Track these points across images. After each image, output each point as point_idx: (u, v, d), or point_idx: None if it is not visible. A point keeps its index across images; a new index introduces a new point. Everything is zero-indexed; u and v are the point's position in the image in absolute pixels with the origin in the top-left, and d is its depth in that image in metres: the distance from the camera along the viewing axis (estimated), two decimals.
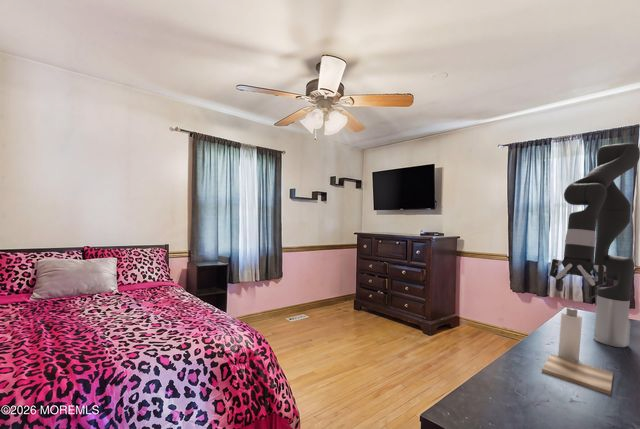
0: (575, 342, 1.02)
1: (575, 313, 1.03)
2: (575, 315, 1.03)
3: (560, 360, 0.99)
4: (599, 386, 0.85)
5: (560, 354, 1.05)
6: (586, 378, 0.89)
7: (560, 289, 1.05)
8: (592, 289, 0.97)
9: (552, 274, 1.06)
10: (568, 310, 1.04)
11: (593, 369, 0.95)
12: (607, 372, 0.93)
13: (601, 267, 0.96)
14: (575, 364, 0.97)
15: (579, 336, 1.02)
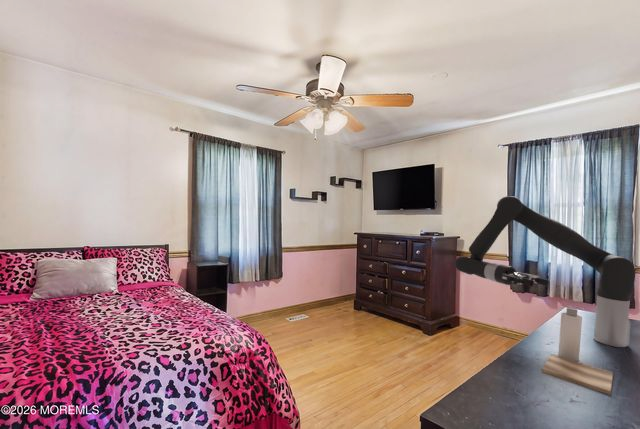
0: (575, 342, 1.02)
1: (575, 313, 1.03)
2: (575, 315, 1.03)
3: (560, 360, 0.99)
4: (599, 386, 0.85)
5: (560, 354, 1.05)
6: (586, 378, 0.89)
7: (545, 283, 1.16)
8: (525, 284, 1.15)
9: None
10: (568, 310, 1.04)
11: (593, 369, 0.95)
12: (607, 372, 0.93)
13: (503, 280, 1.20)
14: (575, 364, 0.97)
15: (579, 336, 1.02)
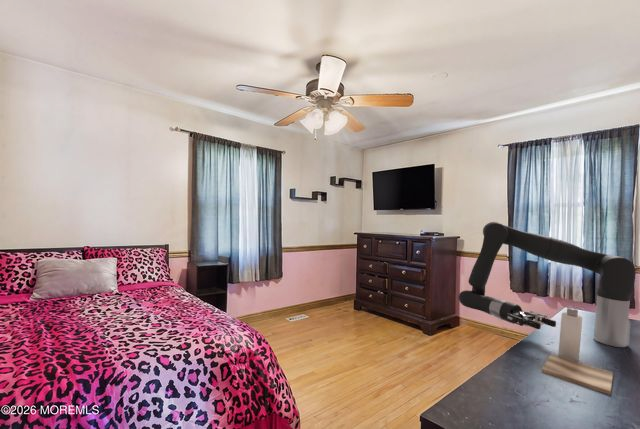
0: (576, 342, 1.02)
1: (575, 313, 1.03)
2: (575, 315, 1.03)
3: (560, 360, 0.99)
4: (599, 386, 0.85)
5: (560, 354, 1.05)
6: (586, 378, 0.89)
7: (552, 324, 1.13)
8: (531, 326, 1.12)
9: None
10: (568, 310, 1.04)
11: (593, 369, 0.95)
12: (607, 372, 0.93)
13: (509, 320, 1.18)
14: (575, 364, 0.97)
15: (580, 337, 1.02)
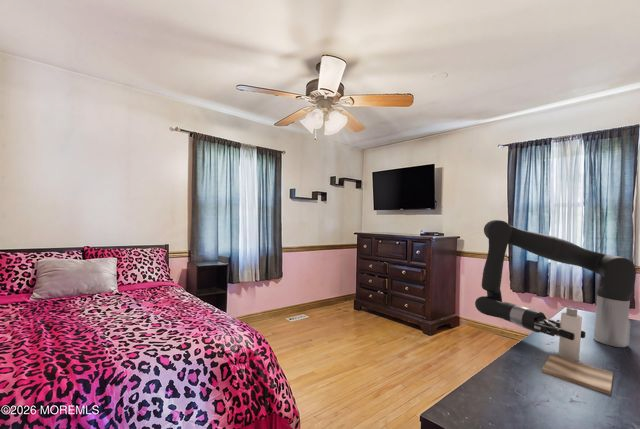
0: (575, 342, 1.02)
1: (575, 313, 1.03)
2: (575, 315, 1.03)
3: (560, 360, 0.99)
4: (599, 386, 0.85)
5: (560, 354, 1.05)
6: (586, 378, 0.89)
7: (581, 335, 1.04)
8: (563, 336, 1.03)
9: None
10: (568, 310, 1.04)
11: (593, 369, 0.95)
12: (607, 372, 0.93)
13: (536, 330, 1.09)
14: (575, 364, 0.97)
15: (579, 336, 1.02)
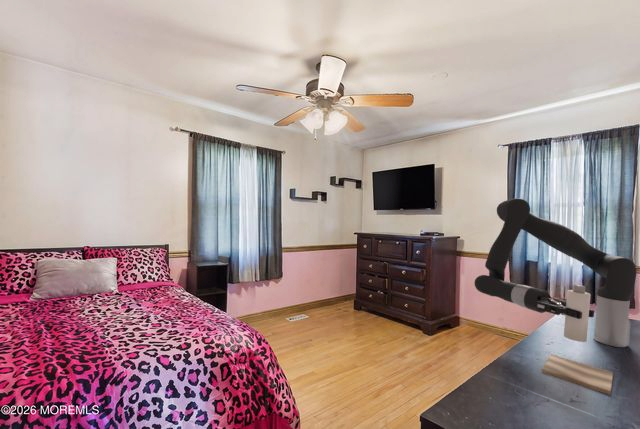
0: (583, 321, 0.93)
1: (583, 289, 0.94)
2: (583, 292, 0.94)
3: (560, 360, 0.99)
4: (599, 386, 0.85)
5: (566, 335, 0.95)
6: (586, 378, 0.89)
7: (590, 314, 0.94)
8: (570, 315, 0.94)
9: None
10: (575, 286, 0.95)
11: (593, 369, 0.95)
12: (607, 372, 0.93)
13: (539, 309, 0.99)
14: (575, 364, 0.97)
15: (587, 315, 0.93)
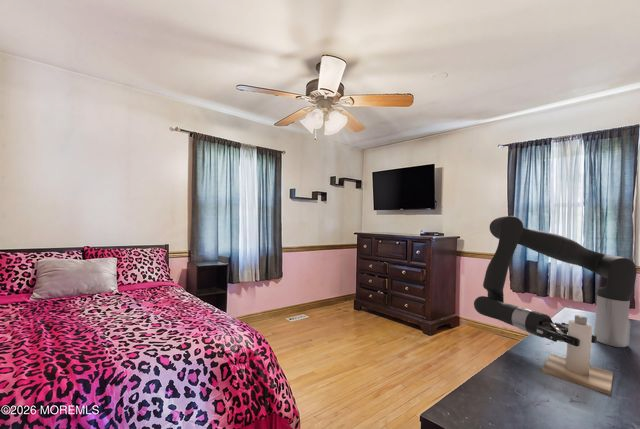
0: (585, 354, 0.91)
1: (584, 321, 0.92)
2: (584, 323, 0.92)
3: (560, 360, 0.99)
4: (599, 386, 0.85)
5: (568, 367, 0.94)
6: (586, 378, 0.89)
7: (592, 340, 0.94)
8: (567, 342, 0.92)
9: None
10: (576, 318, 0.93)
11: (593, 369, 0.95)
12: (607, 372, 0.93)
13: (538, 334, 0.98)
14: None
15: (590, 347, 0.91)
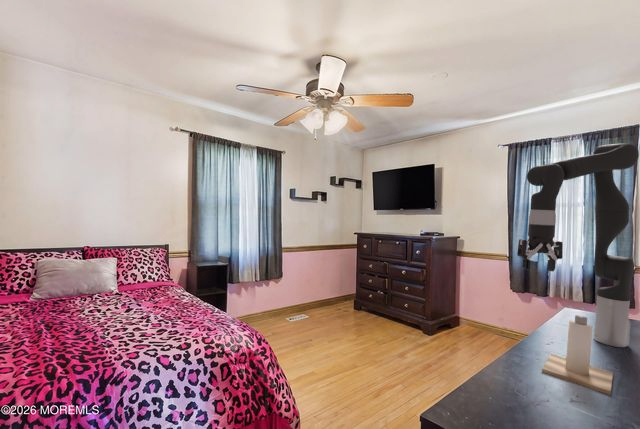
0: (585, 354, 0.91)
1: (585, 321, 0.92)
2: (585, 323, 0.92)
3: (560, 360, 0.99)
4: (599, 386, 0.85)
5: (568, 367, 0.94)
6: (586, 378, 0.89)
7: (548, 268, 1.09)
8: None
9: None
10: (577, 318, 0.93)
11: (593, 369, 0.95)
12: (607, 372, 0.93)
13: None
14: None
15: (590, 348, 0.91)
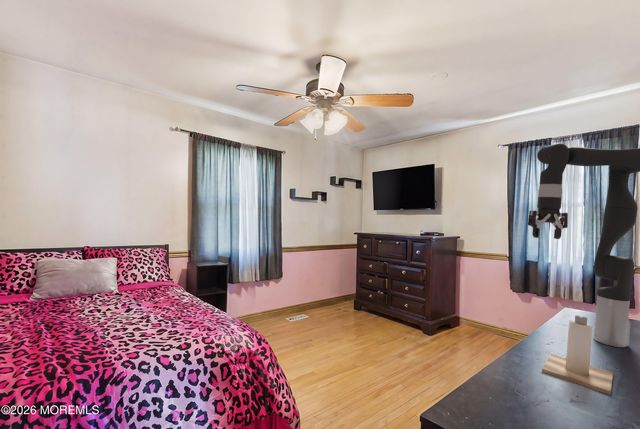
0: (585, 354, 0.91)
1: (585, 321, 0.92)
2: (585, 323, 0.92)
3: (560, 360, 0.99)
4: (599, 386, 0.85)
5: (568, 367, 0.94)
6: (586, 378, 0.89)
7: (555, 237, 1.23)
8: None
9: None
10: (577, 318, 0.93)
11: (593, 369, 0.95)
12: (607, 372, 0.93)
13: None
14: None
15: (590, 348, 0.91)
